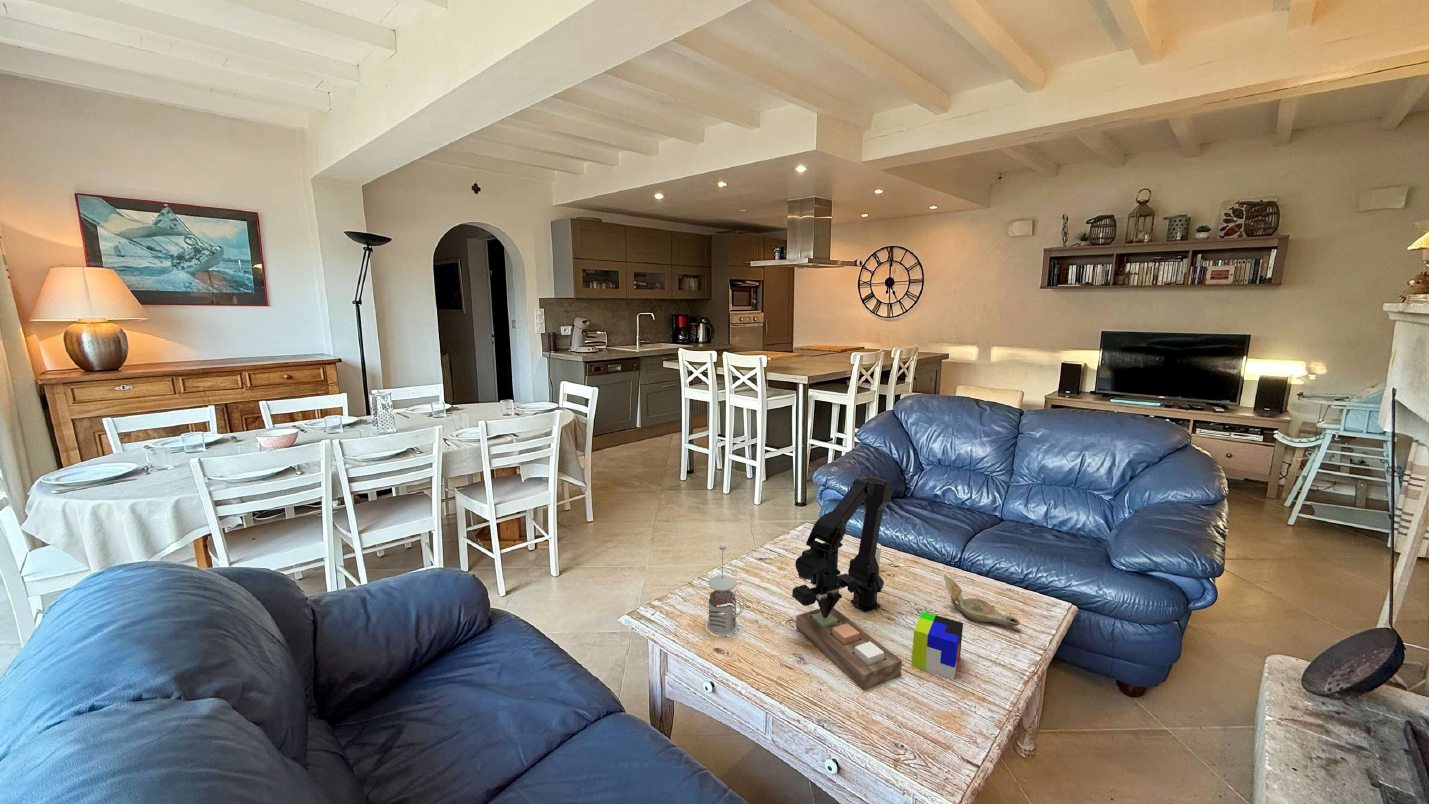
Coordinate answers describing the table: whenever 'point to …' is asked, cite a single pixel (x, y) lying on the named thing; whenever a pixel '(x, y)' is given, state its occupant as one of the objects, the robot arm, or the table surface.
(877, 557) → the drinking glass
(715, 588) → the french press
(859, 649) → the white square block
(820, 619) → the pale green square block
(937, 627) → the puzzle toy
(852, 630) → the terracotta key
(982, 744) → the table surface
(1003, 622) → the oil lamp
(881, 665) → the key console
